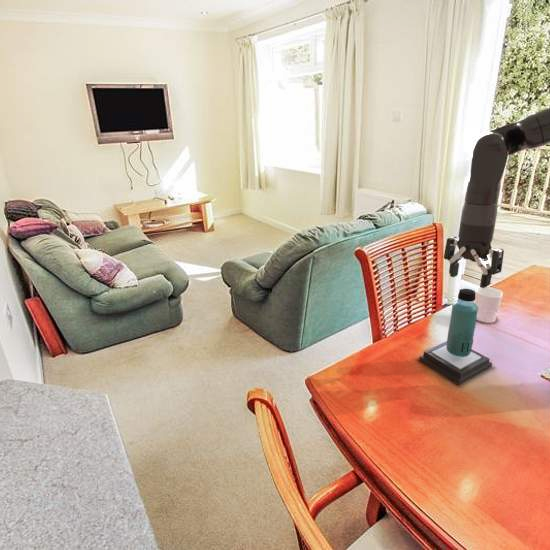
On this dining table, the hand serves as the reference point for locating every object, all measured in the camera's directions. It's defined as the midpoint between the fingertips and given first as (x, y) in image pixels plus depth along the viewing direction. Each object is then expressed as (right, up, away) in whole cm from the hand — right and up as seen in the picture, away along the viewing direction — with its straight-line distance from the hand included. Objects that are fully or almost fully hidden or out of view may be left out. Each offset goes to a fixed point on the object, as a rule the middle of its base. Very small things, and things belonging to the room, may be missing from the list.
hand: (468, 281), depth 97 cm
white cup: (+22, -13, +32) cm, 41 cm away
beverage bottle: (+1, -21, +9) cm, 23 cm away
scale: (+1, -24, +10) cm, 26 cm away
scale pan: (+1, -22, +9) cm, 24 cm away
